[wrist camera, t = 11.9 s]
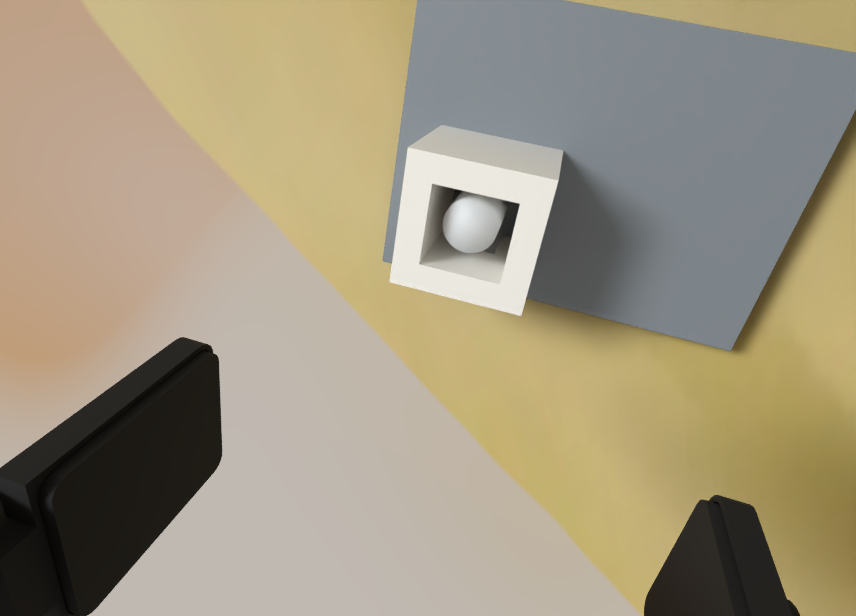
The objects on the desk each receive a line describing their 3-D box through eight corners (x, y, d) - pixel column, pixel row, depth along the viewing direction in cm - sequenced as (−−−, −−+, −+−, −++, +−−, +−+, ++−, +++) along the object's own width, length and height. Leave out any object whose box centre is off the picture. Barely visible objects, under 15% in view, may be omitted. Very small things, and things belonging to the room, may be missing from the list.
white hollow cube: (441, 124, 27) (407, 147, 22) (563, 150, 26) (558, 180, 21) (423, 237, 30) (389, 281, 24) (532, 264, 29) (521, 316, 24)
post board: (723, 337, 29) (756, 409, 24) (390, 251, 32) (349, 298, 27) (865, 56, 23) (958, 64, 17) (429, -23, 25) (385, -38, 20)
